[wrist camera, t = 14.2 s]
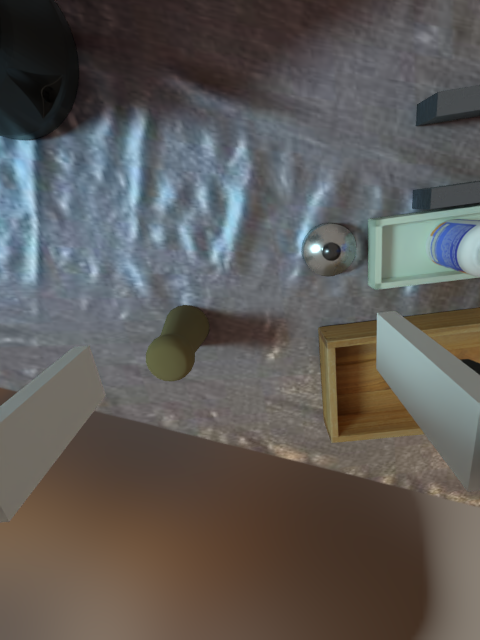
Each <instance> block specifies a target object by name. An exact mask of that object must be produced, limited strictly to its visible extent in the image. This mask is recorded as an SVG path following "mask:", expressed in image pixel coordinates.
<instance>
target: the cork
mask: <svg viewBox="0 0 480 640" xmlns="http://www.w3.org/2000/svg"><path fill="white" fill-rule="evenodd" d="M208 333H209V322H208V319H207V317H206V316H205V314H204V313H203V312H202V311H201V310H199V309H198V308H196V307H193V306H188V305H183V306H178V307H176V308H174V309H173V310H171V312H170V313H169V314H168V316H167V318H166V321H165V324H164V327H163V330H162V333H161V335H160V336H159V337H158V338H156V339H154V341H153V342H152V343H151V344H150V345H149V347H148V350H147V353H146V363H147V366H148V368H149V370H150V371H151V372H152V374H153V375H154V376H156V377H157V378H159V379H161V380H164V381H176V380H180V379H182V378H184V377H185V376H186V375H187V374H188V373H189V372H190V371H191V369H192V367H193V365H194V362H195V352H196V351H197V349H198V348H199V347H200V345H201V344H202V343H203V341H204V340H205V339H206V337H207V335H208Z"/></svg>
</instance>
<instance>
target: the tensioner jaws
mask: <svg viewBox="0 0 480 640" xmlns="http://www.w3.org/2000/svg"><path fill="white" fill-rule="evenodd" d="M478 116H480V85H477V86H471V87H465V88H459V89H453V90H447V91H441V92H437V93H436V94H434V95H432V96H431V97H429V98H427V99H426V100H424V101H422V102H421V103H419V104H417V118H416V126H421V125H427V124H433V123H440V122H446V121H452V120H459V119H465V118H471V117H478ZM479 202H480V181H474V182H467V183H460V184H453V185H446V186H439V187H432V188H425V189H418V190H413V202H412V209H436V208H443V207H450V206H457V205H465V204H472V203H479Z"/></svg>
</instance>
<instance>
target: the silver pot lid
mask: <svg viewBox="0 0 480 640" xmlns="http://www.w3.org/2000/svg"><path fill="white" fill-rule="evenodd" d="M355 254H356V242H355V239H354V236H353V235H352V233H351V232H350V231H349V230H348V229H347V228H345V227H343V226H341V225H338V224H333V223H324V224H320V225H318V226H316V227H314V228H313V229H311V230H310V231H309V232H308V234H307V235H306V236H305V238H304V240H303V243H302V257H303V259H304V261H305V263H306V264H307V266H308V267H309V268H310V269H311V270H312V271H313V272H315V273H316V274H318V275H322V276H334V275H337V274H340V273H342V272H343V271H345V270H346V269H347V268H348V267H349V266H350V265H351V263H352V262H353V260H354V257H355Z"/></svg>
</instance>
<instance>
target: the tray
mask: <svg viewBox="0 0 480 640" xmlns="http://www.w3.org/2000/svg"><path fill="white" fill-rule="evenodd" d="M404 318H405V319H407V320H408V321H409V322H410V323H412V324H413V325H414V326H416V327H417V328H418V329H420V330H421V331H422V332H424V333H425V334H426V335H428V336H429V337H430V338H432V339H433V340H434V341H436V342H437V343H438V344H439V345H441V346H442V347H443V348H445V349H446V350H447V351H449V352H450V353H451V354H453V355H454V356H455V357H457V358H458V359H459V360H461V359H470V360H473V361H475V362H478V363H480V308H473V309H464V310H456V311H448V312H440V313H431V314H423V315H415V316H408V317H404ZM318 333H319V351H320V368H321V384H322V399H323V415H324V422H325V426H326V429H327V431H328V434H329V437H330V440H331V442H332V443H336V442H347V441H357V440H368V439H378V438H389V437H400V436H411V435H421V434H424V432H423V431H422V430H421V428H420V427H419V426H418V424H417V423H416V422H415V420H414V419H413V417H412V416H411V415H410V413H409V412H408V411H407V409H406V408H405V407H404V405H403V404H402V403H401V401H400V400H399V399H398V397H397V396H396V395H395V393H394V392H393V391H392V389H391V388H390V387H389V385H388V384H387V383H386V381H385V380H384V379H383V377H382V376H381V374H380V373H379V372H378V370H377V369H376V354H377V320H375V321H367V322H359V323H351V324H343V325H333V326H325V327H319V328H318Z"/></svg>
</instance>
